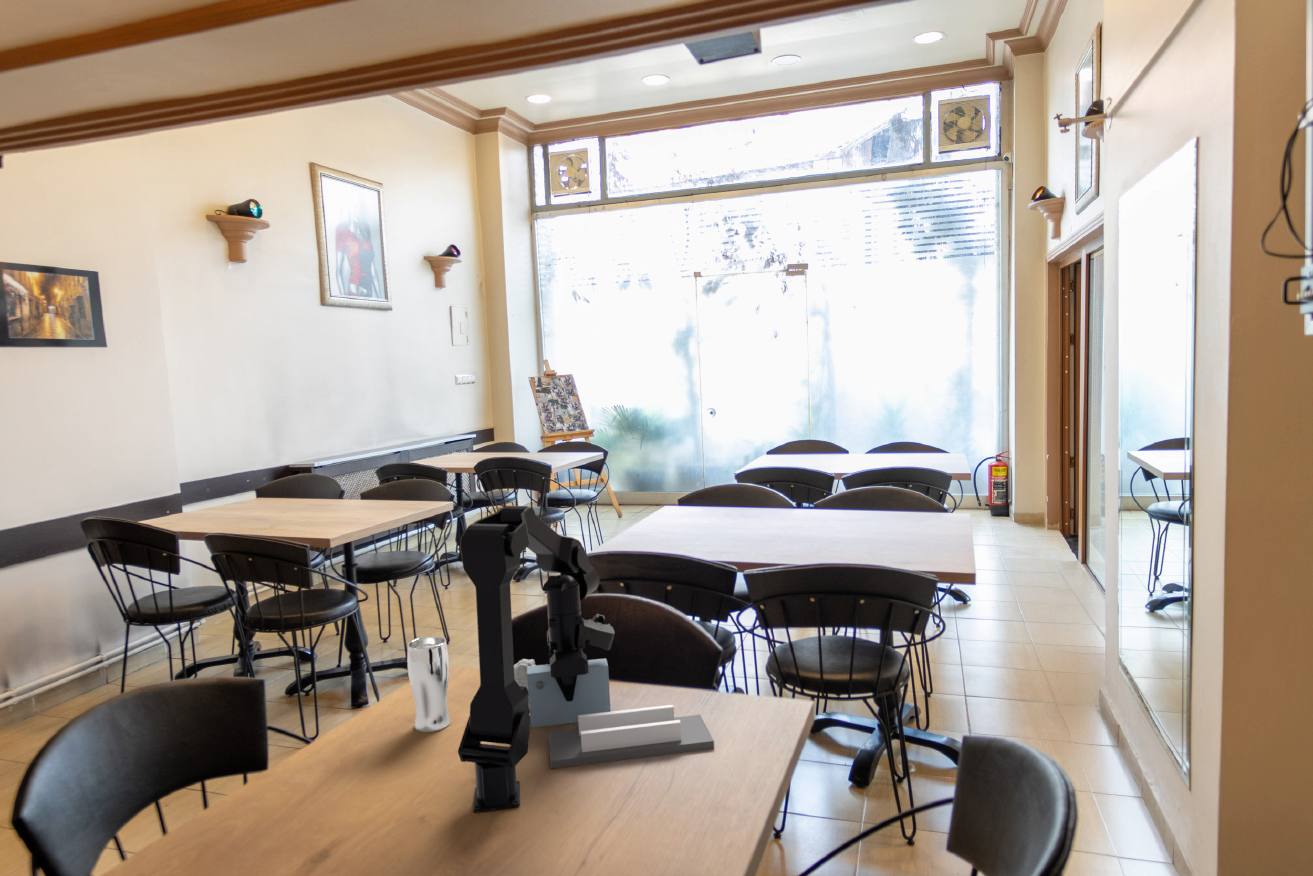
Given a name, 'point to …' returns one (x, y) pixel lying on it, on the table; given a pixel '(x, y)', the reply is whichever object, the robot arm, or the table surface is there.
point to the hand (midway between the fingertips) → (569, 696)
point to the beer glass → (429, 682)
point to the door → (552, 704)
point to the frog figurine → (522, 671)
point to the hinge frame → (628, 736)
